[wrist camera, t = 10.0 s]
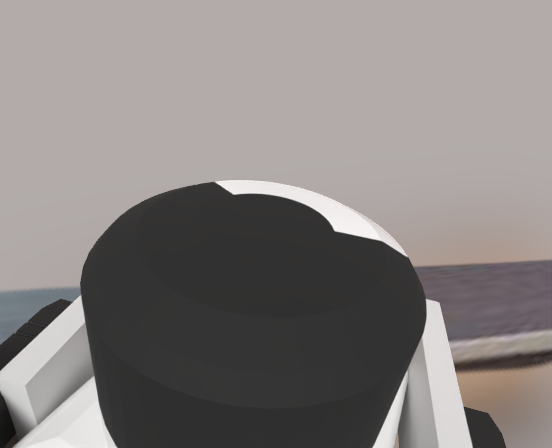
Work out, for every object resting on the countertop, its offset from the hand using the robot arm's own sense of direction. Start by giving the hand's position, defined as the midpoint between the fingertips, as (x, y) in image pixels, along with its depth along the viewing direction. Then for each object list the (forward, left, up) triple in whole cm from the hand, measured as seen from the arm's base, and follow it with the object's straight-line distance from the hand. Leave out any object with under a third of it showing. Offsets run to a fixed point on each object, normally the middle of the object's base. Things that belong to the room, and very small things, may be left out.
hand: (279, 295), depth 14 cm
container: (+1, -5, -8) cm, 9 cm away
